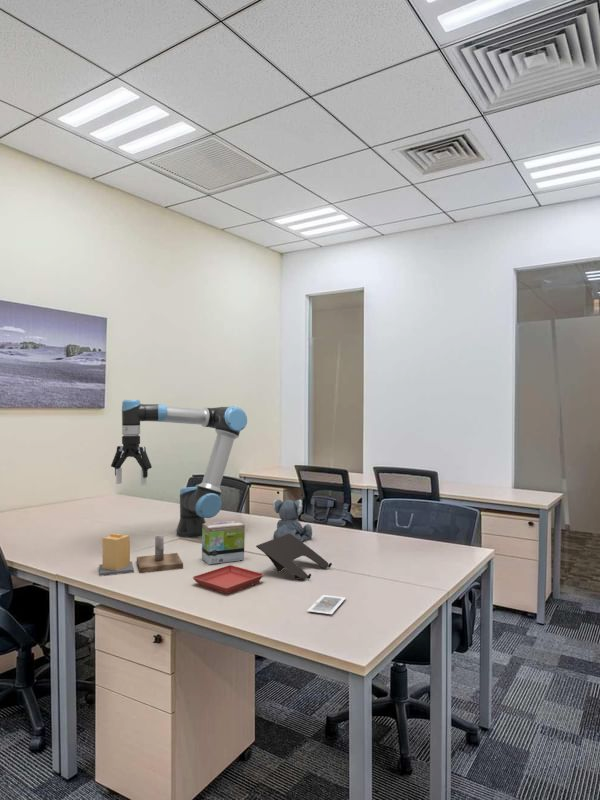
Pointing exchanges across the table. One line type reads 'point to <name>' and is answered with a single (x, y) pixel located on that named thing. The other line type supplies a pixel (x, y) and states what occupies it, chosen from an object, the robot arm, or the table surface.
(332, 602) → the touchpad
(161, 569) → the wooden base with post
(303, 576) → the portable electronic device stand
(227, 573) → the plant saucer
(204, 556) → the tea box
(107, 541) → the tan tall block
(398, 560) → the table surface
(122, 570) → the pad
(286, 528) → the koala plush
